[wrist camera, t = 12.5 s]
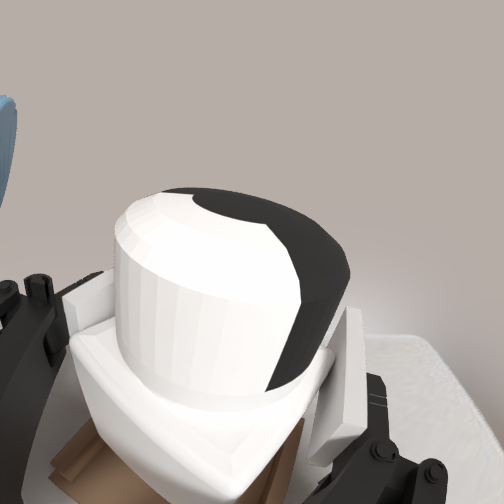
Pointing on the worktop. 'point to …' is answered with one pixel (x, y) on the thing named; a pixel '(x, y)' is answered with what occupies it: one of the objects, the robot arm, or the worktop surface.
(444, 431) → the worktop surface
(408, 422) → the worktop surface
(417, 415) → the worktop surface
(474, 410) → the worktop surface
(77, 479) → the notched board
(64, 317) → the robot arm
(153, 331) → the medicine bottle
